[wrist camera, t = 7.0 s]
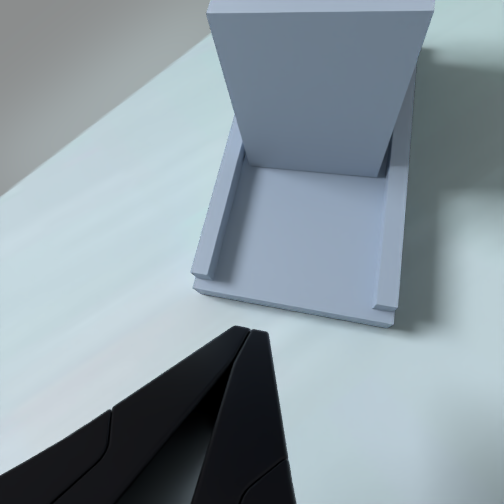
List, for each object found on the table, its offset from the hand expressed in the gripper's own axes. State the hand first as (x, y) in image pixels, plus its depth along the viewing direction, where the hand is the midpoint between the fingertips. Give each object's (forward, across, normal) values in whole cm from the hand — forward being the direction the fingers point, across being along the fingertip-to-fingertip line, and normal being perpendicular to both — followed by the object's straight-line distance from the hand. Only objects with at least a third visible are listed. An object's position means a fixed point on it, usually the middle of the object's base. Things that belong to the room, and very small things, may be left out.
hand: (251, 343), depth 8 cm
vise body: (+13, 0, -3) cm, 14 cm away
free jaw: (+12, 0, -3) cm, 12 cm away
